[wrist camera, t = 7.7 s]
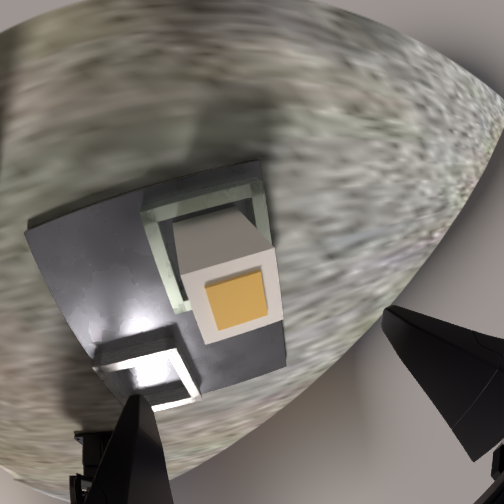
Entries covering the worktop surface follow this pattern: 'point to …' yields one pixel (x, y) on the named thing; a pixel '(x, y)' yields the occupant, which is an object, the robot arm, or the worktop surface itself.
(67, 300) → the panel
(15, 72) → the worktop surface
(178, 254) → the plug
